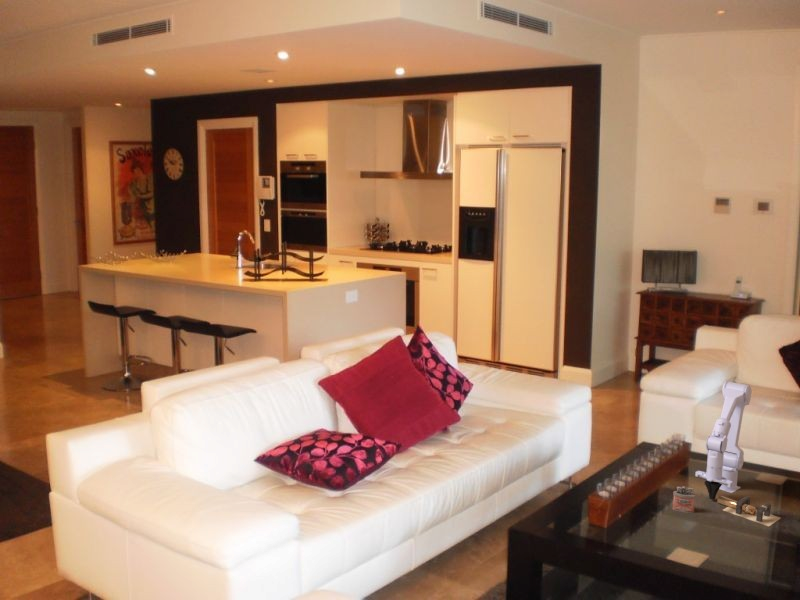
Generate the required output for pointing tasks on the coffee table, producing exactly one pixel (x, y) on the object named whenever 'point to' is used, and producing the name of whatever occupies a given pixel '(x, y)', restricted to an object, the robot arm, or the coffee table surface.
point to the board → (759, 516)
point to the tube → (732, 504)
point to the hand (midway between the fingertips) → (712, 498)
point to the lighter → (684, 500)
